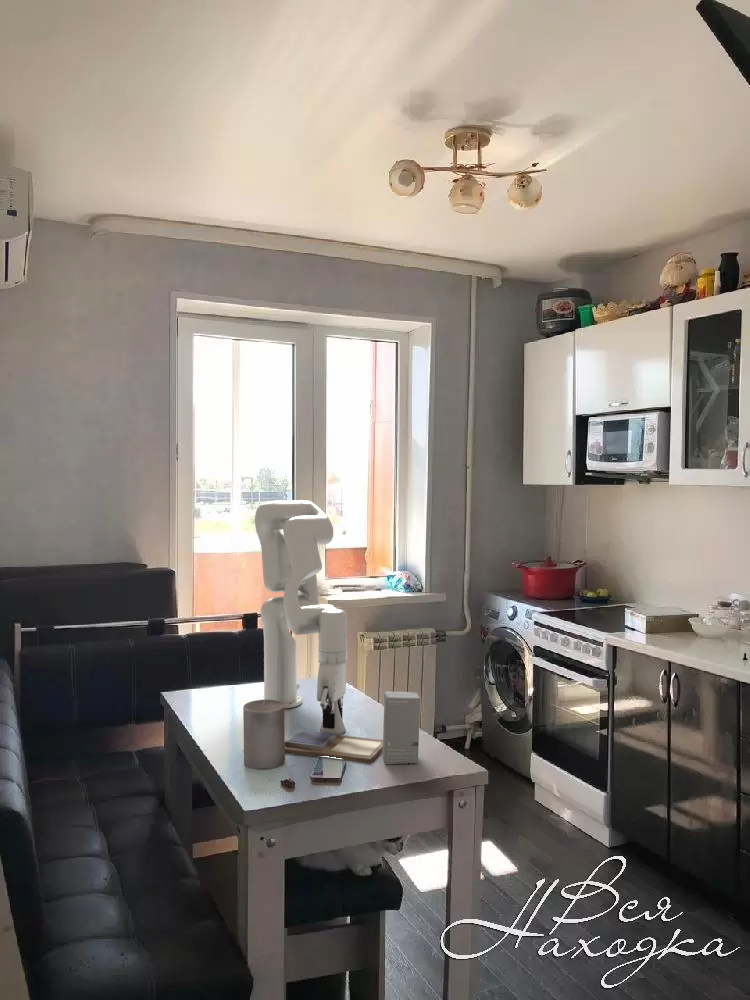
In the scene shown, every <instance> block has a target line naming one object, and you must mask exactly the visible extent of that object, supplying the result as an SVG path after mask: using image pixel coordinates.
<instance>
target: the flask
mask: <svg viewBox="0 0 750 1000" xmlns="http://www.w3.org/2000/svg"><path fill="white" fill-rule="evenodd" d="M330 700H331V699H327V701H330ZM327 705H329V706H330V707H331V704H328V703H327ZM333 713H335V728H334V729H329V728H323V720H322V721H321V724H320V727H319V732H327V733H336V734H337V735H343V733H346V732H347V731H346V727H345V723H344V720H343V717H342V718H341V714H340V711H339V708H338V700H337V701H335V702H334V711H333Z"/></svg>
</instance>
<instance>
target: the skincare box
mask: <svg viewBox="0 0 750 1000" xmlns="http://www.w3.org/2000/svg"><path fill="white" fill-rule="evenodd" d="M383 694H384V695H383V696H384V697H383V701H384V703H383V704H384V705H383V724H382V725H383V731H382V732H383V733H382V740H383V751H382V757H383V761H384V763H385V765H401V764H404V765H405V764H407V765H409V764H419V749H420V748H419V745H420V744H419V742H420V713H421V712H420V708H421V703H420V702H421V701H420V700H421V698H420V695H419V693H418V692H413V691H411V692H410V691H384V692H383ZM408 763H409V764H408Z"/></svg>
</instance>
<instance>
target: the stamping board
mask: <svg viewBox="0 0 750 1000" xmlns="http://www.w3.org/2000/svg"><path fill="white" fill-rule="evenodd" d="M382 750H383V739H377V738H369V737H360V736H352V735H343V734H338V735H337V734H336V733H327V732H320V731H316V730H308V729H307V730H306V729H300V730H299V731H297V732H295V734H293V735H292V736H291V737H289V738H288V739H286V740H285V754H290V753H294V754H293V755H298V754H302V755H301V756H306V755H309V756H308V757H314V756H329V757H336V758H342V759H344V760H343V761H347V762H354V763H355V762H356V763H364V764H372V762H374V761H375V759H376V758H377V757H378V756H379V755H380V754H381V753H383V751H382Z"/></svg>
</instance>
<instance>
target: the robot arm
mask: <svg viewBox="0 0 750 1000" xmlns="http://www.w3.org/2000/svg"><path fill="white" fill-rule="evenodd" d="M254 527H255V529H256V530H255V531H256V535H257V537H258V541H259V543H260V544H259V545H260V549H261V550H260V551H261V562H262V563H261V565H262V575H263V583H264V587H265V589H266V590H267V591H269V592H270V593H283V596H276V597H271V598H269V599H267V600H265V601H264V602H263V603H262V604H261V607H260V617H261V625H262V629H263V630H262V632H263V652H264V653H263V656H264V657H263V663H264V664H263V667H264V668H263V680H264V682H263V685H264V687H263V688H264V689H263V694H264V695H263V696H262V697H259V699H258V700H276V701H280V702H282V703H283V704H284V710H285V709H291V708H296V707H298V706H300V705H301V704H302V703H303V699H302V697H301V696H299V695H297V693H298V692H297V690H299V689H300V686H301V685H300V684H299V683H298V682H297V680H298V679H297V674H298V673H297V664H298V663H297V660H298V659H297V656H298V655H297V654H298V653H297V642H296V639H295V637H294V636H293V635H292V634H291V632H292V633H293V634H294V635H297V636H304V635H312V634H318V673H317V680H316V681H317V683H316V685H317V687H316V700H317V702H320V705H319V706H320V708H321V713H322V721H323V728H329V729H334V728H335V713H333V711H334V702H335V701H337V700H338V708H339V711H340V714H341V718H342V719H343V706H344V700H343V699H344V696H345V694H346V692H347V671H346V670H347V669H346V664H347V663H348V614H347V612H346V611H345V610H343V609H340V608H336V607H335V606H334V605H332V604H329V603H327V604H320V603H319V592H318V578H317V574H319V573H320V572H321V570H322V569H323V563H322V558H321V555H320V549H319V547H318V546H320V545H321V546H322V545H323V546H324V545H327V544H329V543H331V542H332V541H333V538H334V526H333V524H332V521H331V520H330V518H329V516H328V515H327V514H325V512H323V510H321V508H320V507H318V506H317V505H316V504H315V503H313V502H312V501H311V500H271V501H266V502H263V503H261V504H260V505H259V506H258V507H257V509H256V510H255V515H254ZM281 530H282V531H281ZM328 699H331V700H330V701H328ZM327 704H331V707H330V706H329V705H327Z"/></svg>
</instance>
